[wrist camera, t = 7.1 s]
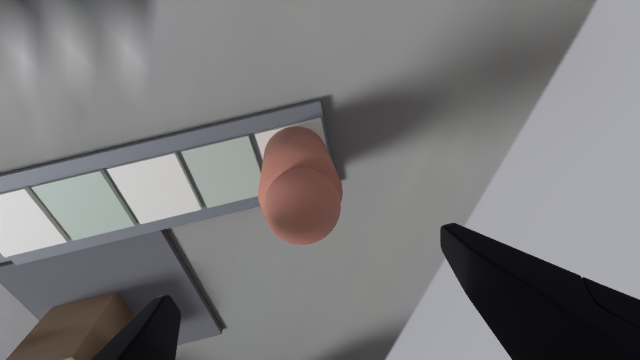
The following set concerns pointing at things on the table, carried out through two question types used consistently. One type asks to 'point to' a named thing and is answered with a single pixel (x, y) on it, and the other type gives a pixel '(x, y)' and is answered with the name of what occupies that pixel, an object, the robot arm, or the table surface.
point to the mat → (114, 280)
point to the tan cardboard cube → (75, 329)
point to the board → (141, 185)
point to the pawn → (299, 186)
